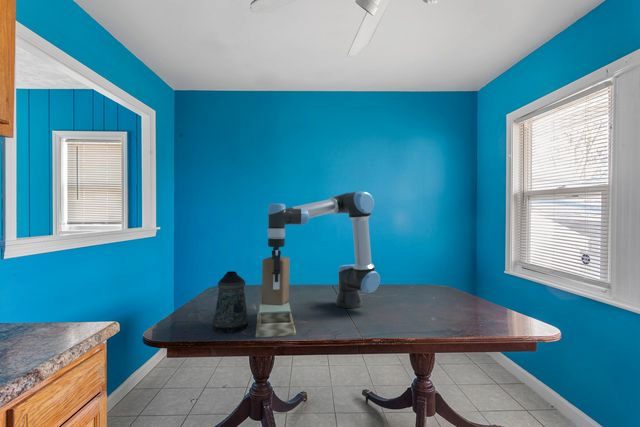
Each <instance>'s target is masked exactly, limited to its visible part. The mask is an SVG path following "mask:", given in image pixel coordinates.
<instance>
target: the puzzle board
mask: <svg viewBox="0 0 640 427" xmlns="http://www.w3.org/2000/svg"><path fill="white" fill-rule="evenodd" d="M259 308H260V306H259ZM256 315H257V316H256V327H255V338H269V337H270V338H274V337H288V336H290V337H292V336H297V331H296V326H295V323H294V319H293V315H292V312H291V313H272V314H259V311H257V314H256Z"/></svg>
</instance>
